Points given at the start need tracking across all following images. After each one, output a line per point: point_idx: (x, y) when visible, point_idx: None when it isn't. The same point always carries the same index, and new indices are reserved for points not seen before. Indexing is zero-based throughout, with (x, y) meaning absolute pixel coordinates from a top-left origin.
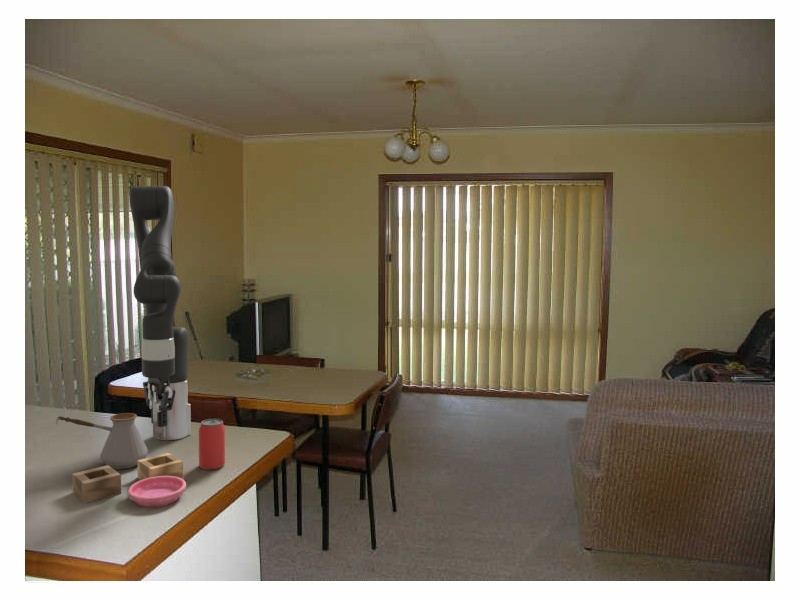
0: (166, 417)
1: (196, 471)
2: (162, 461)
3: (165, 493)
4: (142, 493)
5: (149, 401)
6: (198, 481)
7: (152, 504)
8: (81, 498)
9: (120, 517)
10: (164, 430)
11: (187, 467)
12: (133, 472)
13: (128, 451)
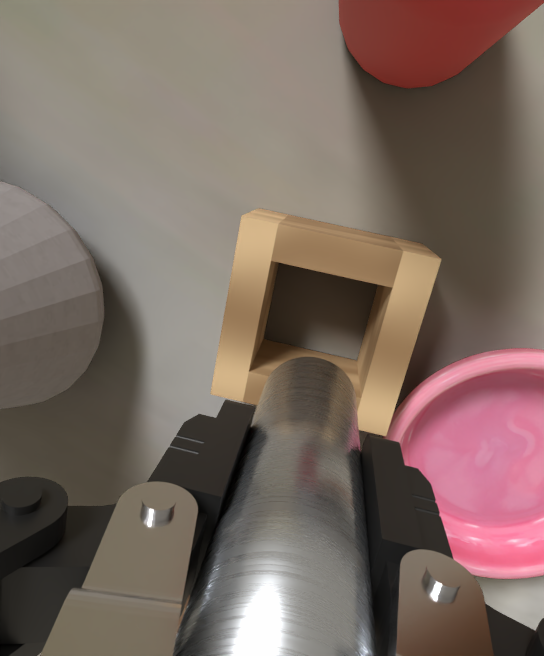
0: (440, 527)
1: (403, 129)
2: (271, 273)
3: (518, 426)
4: (425, 473)
5: (32, 645)
6: (522, 219)
7: None
8: None
9: (507, 605)
10: (353, 409)
11: (312, 121)
12: (157, 329)
13: (61, 350)
